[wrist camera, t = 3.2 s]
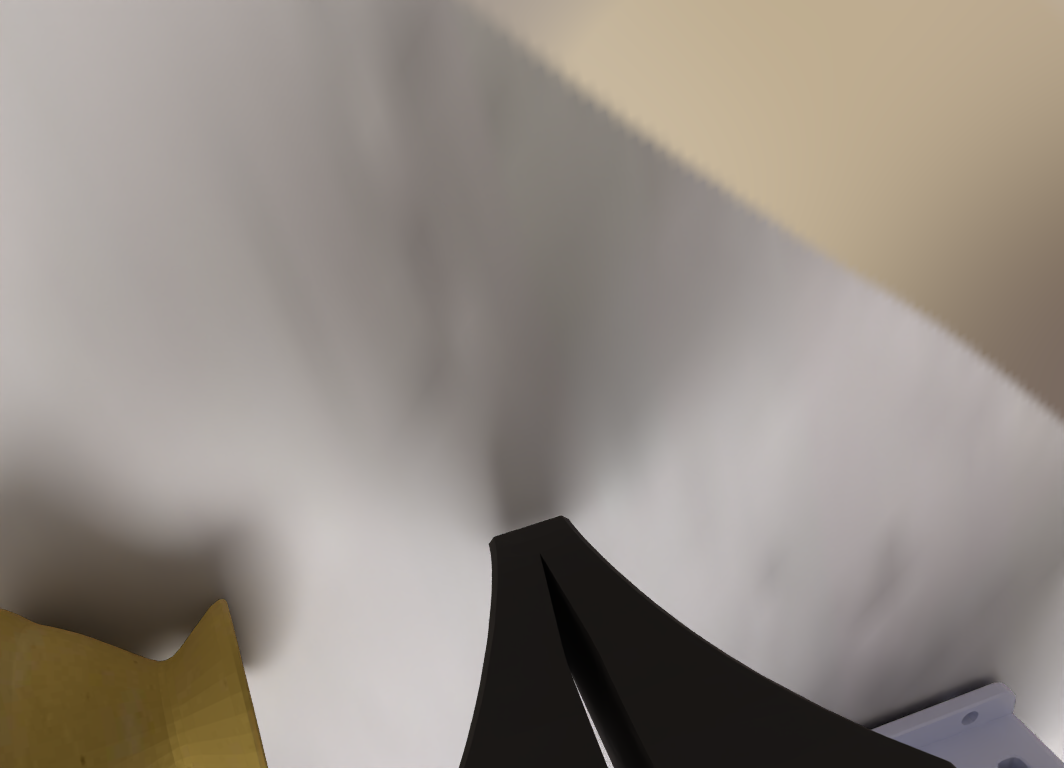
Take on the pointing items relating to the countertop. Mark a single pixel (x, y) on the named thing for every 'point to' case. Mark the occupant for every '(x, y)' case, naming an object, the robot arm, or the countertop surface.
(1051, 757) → the robot arm
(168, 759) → the knob
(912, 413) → the countertop surface
